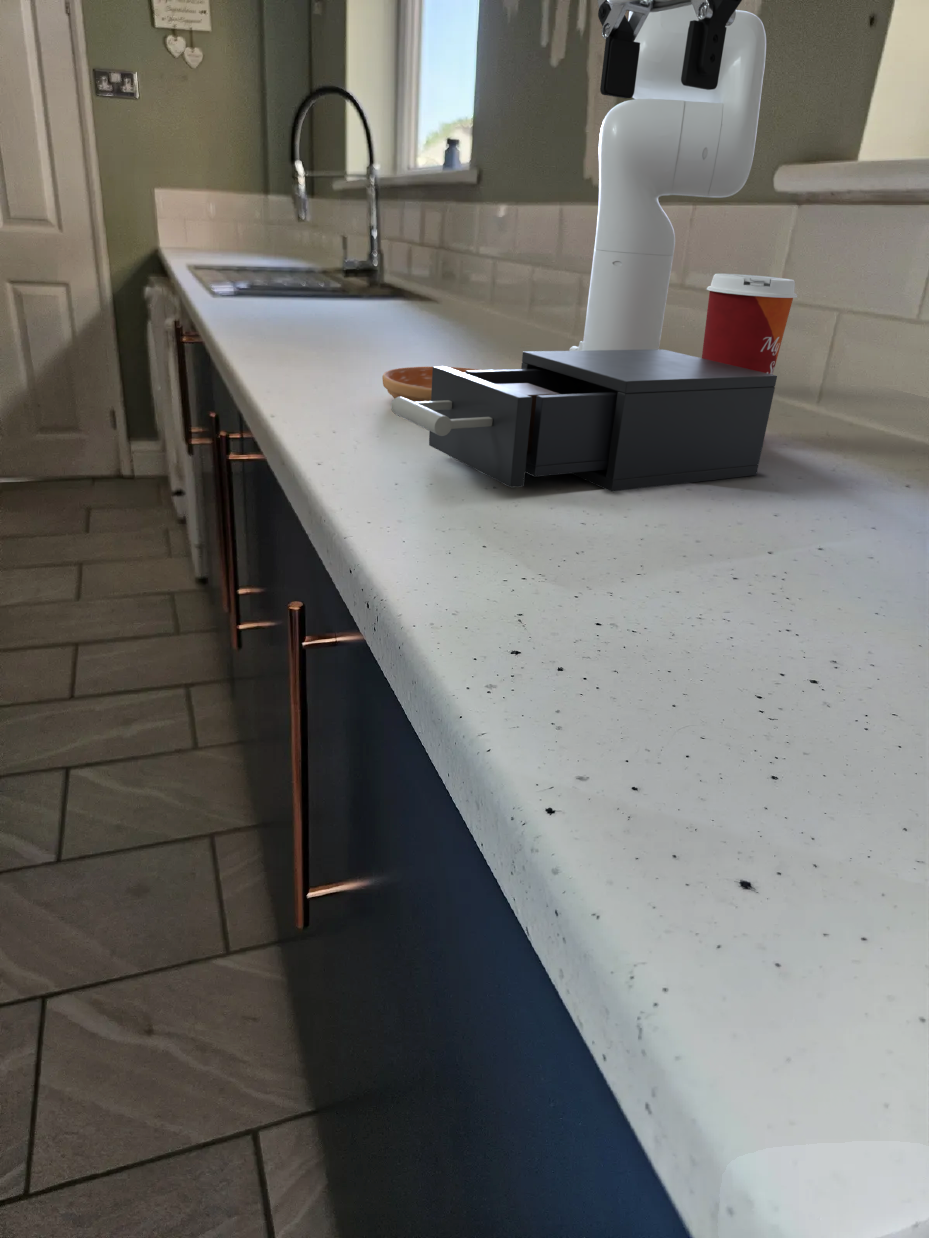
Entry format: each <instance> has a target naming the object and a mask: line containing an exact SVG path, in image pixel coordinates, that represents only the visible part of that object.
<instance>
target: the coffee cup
mask: <svg viewBox="0 0 929 1238" xmlns="http://www.w3.org/2000/svg"><path fill="white" fill-rule="evenodd" d="M705 290H706V291H708V302H707V311H706V319H705V326H704V335H703V336H704V337H703V344H702V353H701V358H703V359H707V360H711V361H716V362H720V363H724V364H729V365H733V366H737V367H742V368H746V369H750V370H755V371H759V372H763V373H768V374H772V375H774V372H775V368H776V365H777V362H778V357H779V353H780V349H781V345H782V342H783V338H784V334H785V329H786V326H787V324H788V319H789V315H790V311H791V308H792V304H793V300H794V299H796V298H798V294H797V293H795V290H796V281H795V280H794V279H791V278H784V277H783V278H782V277H775V276H764V275H753V274H739V273H714V275H713V276H712V279H711V282H710V285H709V286H708V285H707V287H706V288H705Z"/></svg>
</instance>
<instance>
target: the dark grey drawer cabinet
mask: <svg viewBox="0 0 929 1238" xmlns="http://www.w3.org/2000/svg"><path fill="white" fill-rule="evenodd" d="M520 367H521V368H520V369H546V370H550V371H553V372H556V373H559V374H563V375H566V376H569V377H573V378H576V379H579V380H582V381H586V382H589V383H592V384H596V385H599V386H602V387H605V388H609V389H612V390H615V391H619V392H618V394H617V401H616V409H615V416H614V423H613V431H612V438H611V445H610V452H609V460H608V467H607V470H598V471H588V472H577V473H570V474H572V475H574V476H576V477H577V478H580V479H582V480H585V481H587V482H590V483H591V484H593V485H596V486H598V487H600V488H602V489H605V490H607V491H609V492H620V491H629V490H636V489H637V490H638V489H644V488H645V489H646V488H647V489H648V488H654V487H663V486H672V485H682V484H688V483H689V484H690V483H699V482H706V481H707V482H709V481H715V480H724V479H725V480H726V479H734V478H743V477H750V476H757V474H758V470H759V464H760V461H761V455H762V450H763V446H764V441H765V436H766V432H767V427H768V422H769V417H770V414H771V413H770V412H771V408H772V404H773V398H774V393H775V389H776V384H777V379H778V375H775V374H773V375H772V374H768V373H763V372H759V371H755V370H750V369H746V368H742V367H737V366H733V365H729V364H724V363H720V362H716V361H711V360H707V359H703V358H702V357H698V356H694V355H689V354H684V353H680V352H676V351H672V350H668V349H660V348H659V349H655V350H589V351H569V350H543V351H542V350H536V351H535V350H531V351H528V350H527V351H525V350H524V351H522V357H521V366H520Z"/></svg>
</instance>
